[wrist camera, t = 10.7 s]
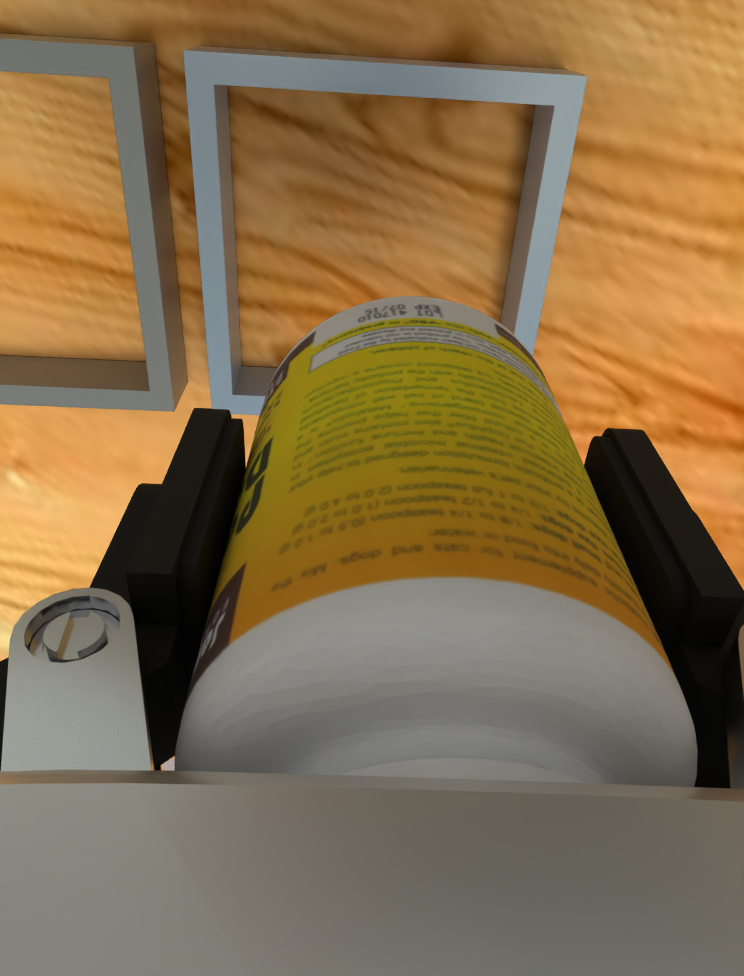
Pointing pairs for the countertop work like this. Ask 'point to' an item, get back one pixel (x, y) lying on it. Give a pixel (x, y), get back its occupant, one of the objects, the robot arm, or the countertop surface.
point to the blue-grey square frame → (380, 76)
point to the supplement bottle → (426, 577)
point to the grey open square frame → (148, 231)
